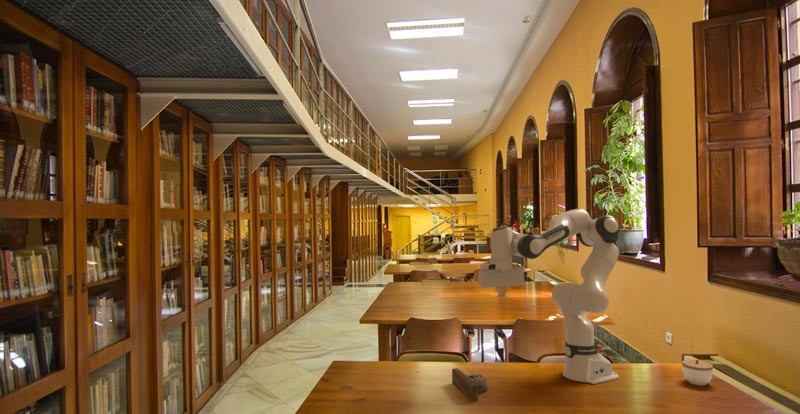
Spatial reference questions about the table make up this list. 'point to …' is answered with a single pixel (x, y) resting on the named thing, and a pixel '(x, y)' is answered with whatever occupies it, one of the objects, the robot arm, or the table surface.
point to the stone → (479, 382)
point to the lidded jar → (697, 371)
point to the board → (464, 385)
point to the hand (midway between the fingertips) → (501, 297)
